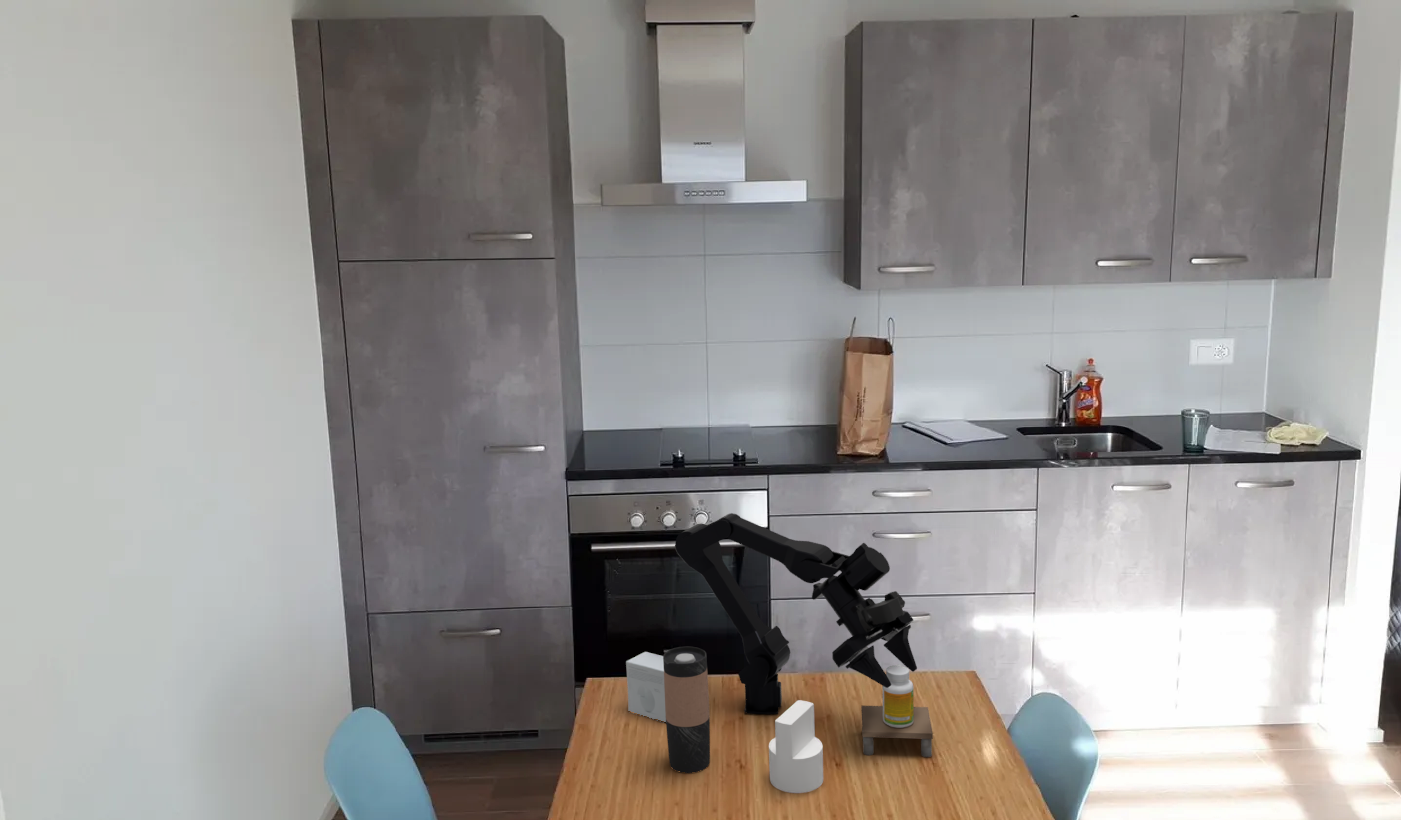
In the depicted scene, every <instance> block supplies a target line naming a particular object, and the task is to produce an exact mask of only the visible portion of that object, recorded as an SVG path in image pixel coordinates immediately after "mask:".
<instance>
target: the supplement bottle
mask: <svg viewBox="0 0 1401 820" xmlns="http://www.w3.org/2000/svg"><path fill="white" fill-rule="evenodd" d="M885 671H886V672H885V674H886V675H887V677H888V679H889V681H890V683H891V686H890V687H888V688H886V687H884V686H882V685H881V686H882V691H881V692H882V706H883V721H884V723H885V724H887V725H889V726H891V727H895V728H904V727H908V726H910V725H912V724H913V721H914V707H915V706H914V704H915V703H914V684H913V682H912V680H910V669H909V668H907V667H906V666H905V665H904V666H903V665H892V666H888V667H887V668H886V669H885Z"/></svg>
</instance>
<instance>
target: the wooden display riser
mask: <svg viewBox="0 0 1401 820" xmlns="http://www.w3.org/2000/svg"><path fill="white" fill-rule="evenodd" d="M861 730H862V731H861V732H862V751H863V752H862V753H863V755H864V756H873V755H874V738H889V739H893V738H894V739H920V752H921V753H920V755H921V756H922V757H923V758H930V757H932V756H933V753H932V748H933V747H932V746H933V745H932V744H933V743H932V741H933V739H934V737H933V736H934V735H933V734H934V733H933V727H932V722H931V717H930V710H929V707H928V706H914V721H913V724H912V725H910V726H908V727H904V728H895V727H891V726H889V725H887V724H885V723H884V721H883V705H861Z"/></svg>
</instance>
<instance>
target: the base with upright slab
mask: <svg viewBox="0 0 1401 820" xmlns="http://www.w3.org/2000/svg"><path fill="white" fill-rule="evenodd" d="M774 726H775V727H774V730H775V733H774V734H775V737H774V738H772V739H771V740H770V741H769V743H768V760H769V761H768V763H769V780H770V784H771V785H772V786H773V787H774V788H776V789H777V790H780V791H782V792H785V793H790V794H803V793H804V794H805V793H808V792H809V793H810V792H812V791H815V790H817V789H818V788H820V787H821V786H822V784H823V783H824V753H823V748H824V747H823V742H822V741H821V740H820V739H819V738H818V737H816V734H815V704H814V703H813V702H812V701H811V702H810V701H807V700H801V699H800V700H799V699H797V700H796V701H795V702H794V703H793V704H792V705H791V706H790V707H789V708H788V709H786V710H785V711H784V712H783V713H782V714H781V715H780V716H779V717H777V718H776V719H775V720H774Z"/></svg>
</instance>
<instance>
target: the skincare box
mask: <svg viewBox="0 0 1401 820" xmlns="http://www.w3.org/2000/svg"><path fill="white" fill-rule="evenodd" d="M663 656H664V655H659V654H656V653H651V652H648V651H644V652H642V653H640V654H638V655H636V656H635V657H632V658H630V659H627V660H626V661H625V665H626V666H625V667H626V682H627V702H628V705H627V706H628V707H627V708H628V709H627V710H628V711H631V712H634V713H637V714H640V715H639V716H641V715H643V716H642V717H644V716H647V717H649V718H648V719H651V718H652V719H651V720H654V719H658V720H661V721H664V722H666V714H665V688H664V662H663ZM634 713H633V714H634ZM637 714H636V715H637ZM647 717H646V718H647ZM658 720H657V721H658ZM661 721H660V722H661ZM664 722H663V723H664Z"/></svg>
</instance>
